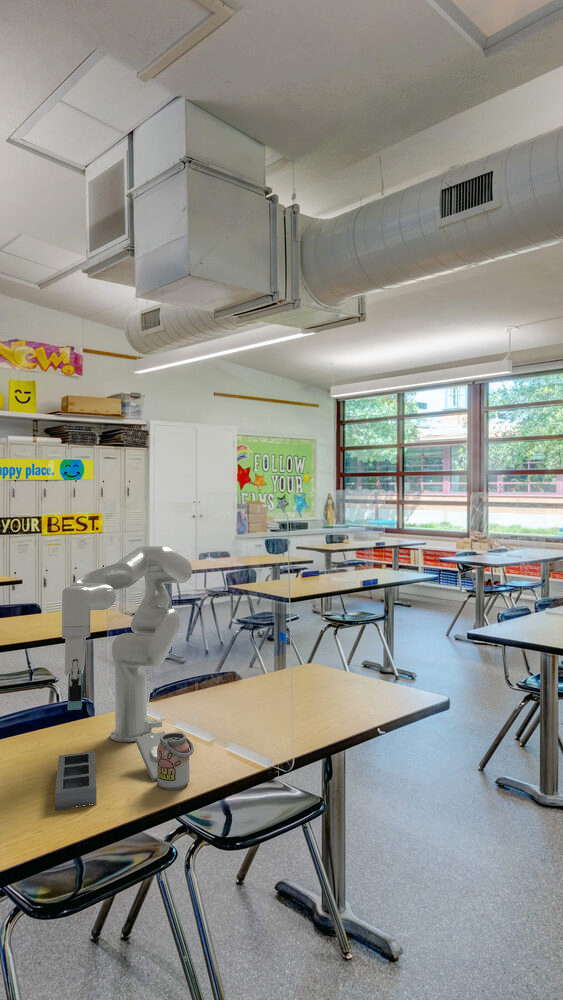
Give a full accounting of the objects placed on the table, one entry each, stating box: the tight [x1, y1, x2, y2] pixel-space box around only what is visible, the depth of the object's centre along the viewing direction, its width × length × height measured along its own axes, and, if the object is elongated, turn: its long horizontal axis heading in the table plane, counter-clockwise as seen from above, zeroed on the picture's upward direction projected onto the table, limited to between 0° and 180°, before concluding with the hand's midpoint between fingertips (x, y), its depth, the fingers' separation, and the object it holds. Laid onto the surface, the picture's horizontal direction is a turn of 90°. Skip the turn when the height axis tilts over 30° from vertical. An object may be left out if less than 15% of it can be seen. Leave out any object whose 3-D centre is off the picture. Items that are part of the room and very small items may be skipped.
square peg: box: [67, 673, 84, 711], centre depth 172 cm, size 4×4×9 cm
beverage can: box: [156, 731, 195, 791], centre depth 159 cm, size 9×8×12 cm
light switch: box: [134, 731, 167, 782], centre depth 169 cm, size 8×6×14 cm
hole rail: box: [54, 751, 97, 811], centre depth 159 cm, size 9×24×4 cm, turn 18°
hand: (75, 697), depth 172 cm, fingers closed on square peg, 3 cm apart
